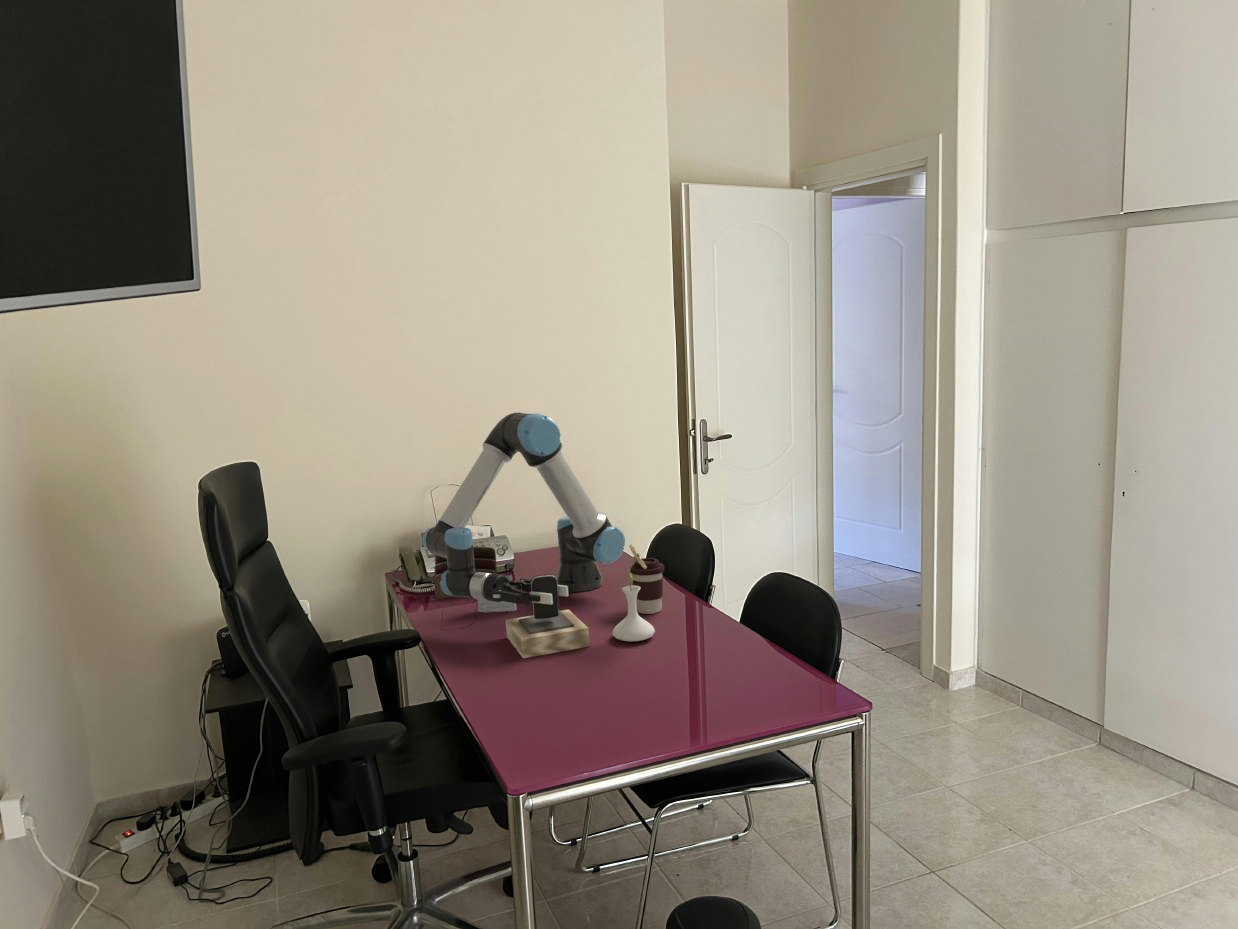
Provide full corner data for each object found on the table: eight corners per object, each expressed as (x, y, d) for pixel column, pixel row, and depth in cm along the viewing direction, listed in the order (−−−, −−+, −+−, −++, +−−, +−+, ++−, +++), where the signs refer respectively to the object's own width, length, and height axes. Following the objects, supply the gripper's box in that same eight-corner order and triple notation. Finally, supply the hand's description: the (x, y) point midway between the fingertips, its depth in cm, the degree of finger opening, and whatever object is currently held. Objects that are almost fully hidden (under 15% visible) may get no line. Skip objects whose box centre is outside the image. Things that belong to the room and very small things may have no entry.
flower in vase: (651, 645, 237) (646, 552, 233) (608, 645, 239) (602, 552, 235) (659, 629, 249) (654, 540, 246) (618, 628, 252) (613, 540, 248)
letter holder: (438, 591, 300) (434, 549, 298) (498, 585, 302) (495, 544, 300) (435, 599, 290) (431, 556, 288) (497, 594, 292) (494, 551, 290)
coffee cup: (627, 614, 263) (624, 564, 261) (639, 604, 272) (636, 555, 270) (659, 617, 259) (657, 566, 257) (670, 606, 268) (668, 557, 266)
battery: (557, 613, 246) (554, 571, 244) (560, 617, 242) (557, 575, 241) (531, 616, 244) (529, 574, 243) (534, 620, 241) (531, 578, 239)
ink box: (517, 609, 275) (514, 572, 273) (515, 612, 272) (512, 574, 270) (479, 610, 276) (476, 573, 274) (477, 613, 273) (474, 575, 272)
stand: (569, 626, 256) (568, 607, 255) (589, 646, 239) (588, 625, 238) (506, 637, 250) (505, 617, 249) (523, 658, 233) (521, 637, 232)
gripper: (512, 590, 260) (580, 598, 249) (468, 610, 243) (539, 620, 232) (510, 564, 259) (578, 571, 248) (466, 583, 242) (537, 591, 231)
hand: (559, 595), depth 240 cm, fingers closed on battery, 7 cm apart
